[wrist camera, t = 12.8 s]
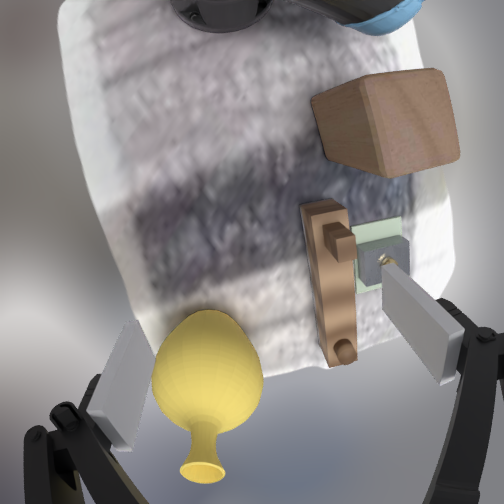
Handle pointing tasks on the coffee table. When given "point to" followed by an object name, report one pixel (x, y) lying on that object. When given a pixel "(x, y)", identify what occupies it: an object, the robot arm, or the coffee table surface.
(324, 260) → the body
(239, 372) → the vase
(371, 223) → the felt mat
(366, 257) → the lever cap
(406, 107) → the wooden block
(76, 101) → the coffee table surface
